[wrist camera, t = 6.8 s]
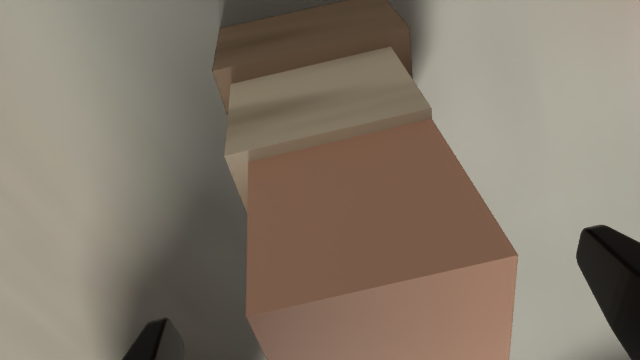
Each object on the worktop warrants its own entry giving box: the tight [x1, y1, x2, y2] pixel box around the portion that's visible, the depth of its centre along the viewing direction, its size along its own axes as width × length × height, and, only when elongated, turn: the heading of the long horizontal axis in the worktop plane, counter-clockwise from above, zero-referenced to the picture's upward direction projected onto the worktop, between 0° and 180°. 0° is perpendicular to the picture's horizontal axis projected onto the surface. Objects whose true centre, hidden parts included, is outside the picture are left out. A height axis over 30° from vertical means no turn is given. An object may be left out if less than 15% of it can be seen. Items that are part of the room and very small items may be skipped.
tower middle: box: [224, 46, 432, 213], centre depth 14 cm, size 5×5×4 cm
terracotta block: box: [246, 119, 518, 360], centre depth 11 cm, size 4×4×4 cm
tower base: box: [212, 0, 413, 115], centre depth 17 cm, size 6×6×4 cm
